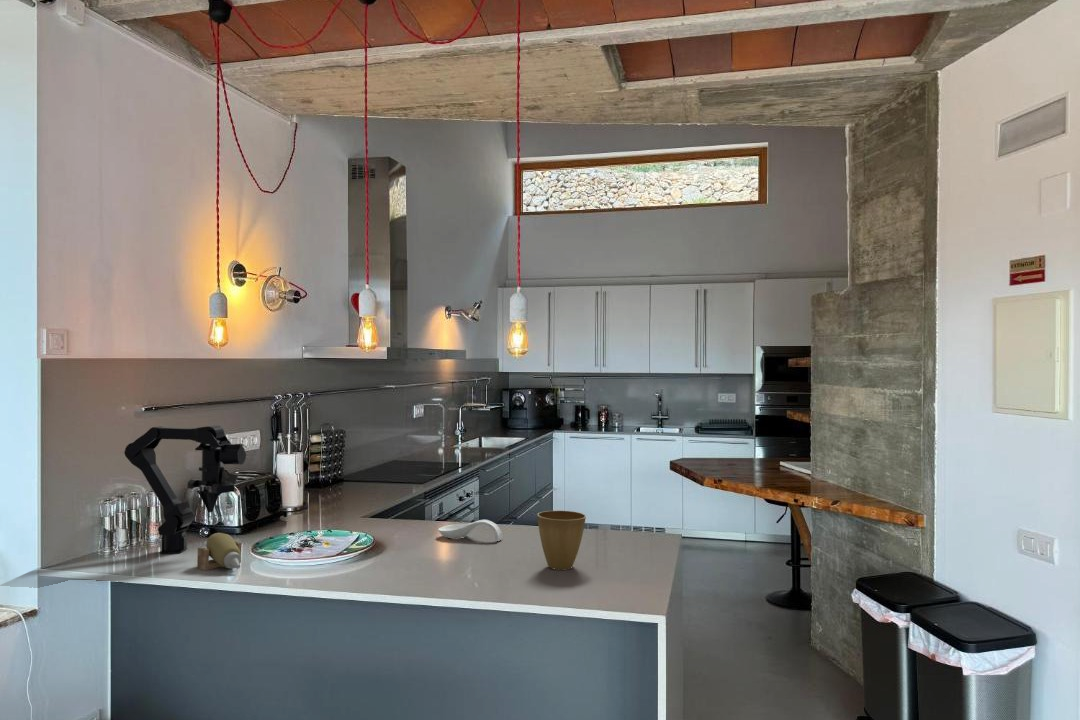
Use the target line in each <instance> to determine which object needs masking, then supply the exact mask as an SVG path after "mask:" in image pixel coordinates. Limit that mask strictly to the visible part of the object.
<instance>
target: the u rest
mask: <svg viewBox="0 0 1080 720" xmlns="http://www.w3.org/2000/svg"><path fill="white" fill-rule="evenodd" d="M234 541H235V543H236V545H237V546H238V548H239V550H240V552H241V553H242V547H243V546H242V545H243V544H242V542H241V541H240V542H239V541H236V540H234ZM196 558H197V559H196V560H197V562H196V563H197V564H196V566H197V567H196V568H197V569H200V570H203V571H208V570H212V569H217V567H218V568H221V567H222V566H221V565H220V564H218V563H217V562H216V561H215V560H213V559H210V556H209V549H207V548H206V547H202V546H199V547H197V557H196ZM222 568H223V567H222Z"/></svg>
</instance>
